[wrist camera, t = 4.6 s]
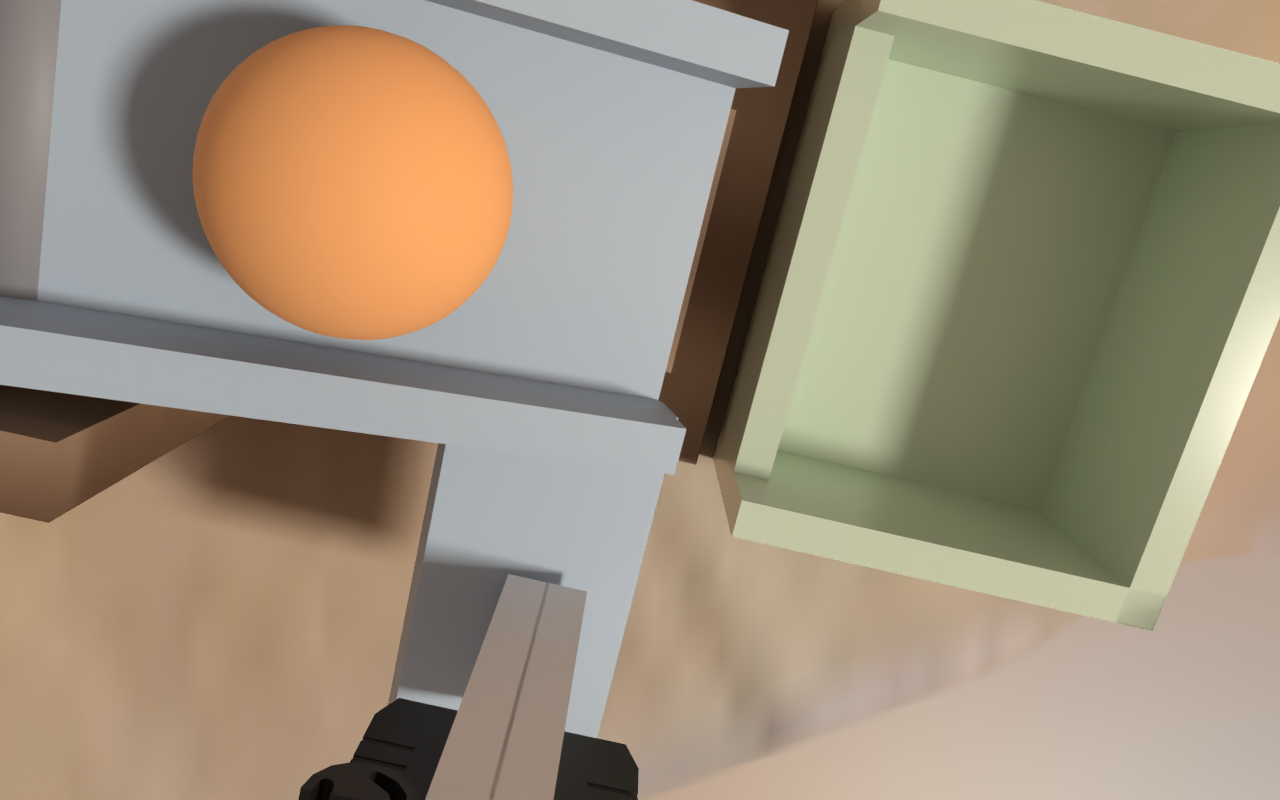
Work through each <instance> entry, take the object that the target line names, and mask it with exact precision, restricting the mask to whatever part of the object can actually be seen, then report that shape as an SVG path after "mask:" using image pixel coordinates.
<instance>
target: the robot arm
mask: <svg viewBox="0 0 1280 800" xmlns="http://www.w3.org/2000/svg"><path fill="white" fill-rule="evenodd" d="M586 595H587V591H583V590H578V589H574V588H569V587H565V586H560V585H556V584H551V583H547V582H542V581H538V580H533V579H529V578H524V577H520V576H516V575H511V574H508V577H507V579H506V582H505V585H504V587H503V590H502V593H501V595H500V598H499V601H498V604H497V606H496V609H495V612H494V614H493V617H492V620H491V623H490V625H489V628H488V631H487V633H486V636H485V639H484V642H483V644H482V647H481V650H480V652H479V655H478V658H477V660H476V663H475V666H474V669H473V671H472V674H471V677H470V679H469V682H468V685H467V688H466V690H465V693H464V696H463V698H462V701H461V704H460V707H459V709H458V711H457V710H453V709H448V708H444V707H439V706H434V705H430V704H425V703H421V702H416V701H412V700H407V699H402V698H398V699H396V700H395V701H393V702H392V703H390V704H389V705H388V706H386V707H385V708H383V709H382V710H380V711H379V712H377V713H376V714H375V715H374V717H373V719H372V721H371V723H370V725H369V727H368V729H367V731H366V733H365V734H364V736H363V740H362V741H361V742H360V744H359V746H358V748H357V750H356V752H355V754H354V757H353V759H351V761H350V763H345V764H339V765H333V766H330V767H328V768H326V769H324V770H322V771H320V772H317V773H315V774H313V775H312V776H311V777H310V778H309V779H308V781H307V782H306V783H305V784H304V785H303V786H302V787H301V789H300V795H299V800H638V798H637V794H638V767H637V765H636V763H635V761H634V759H633V758H632V756H631V754H630V752H629V750H628V748H627V746H626V745H625V744H620V743H616V742H611V741H607V740H602V739H598V738H593V737H588V736H584V735H579V734H575V733H570V732H565V725H566V719H567V712H568V706H569V700H570V694H571V688H572V682H573V675H574V669H575V663H576V657H577V651H578V645H579V638H580V632H581V626H582V620H583V614H584V608H585V601H586Z"/></svg>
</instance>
